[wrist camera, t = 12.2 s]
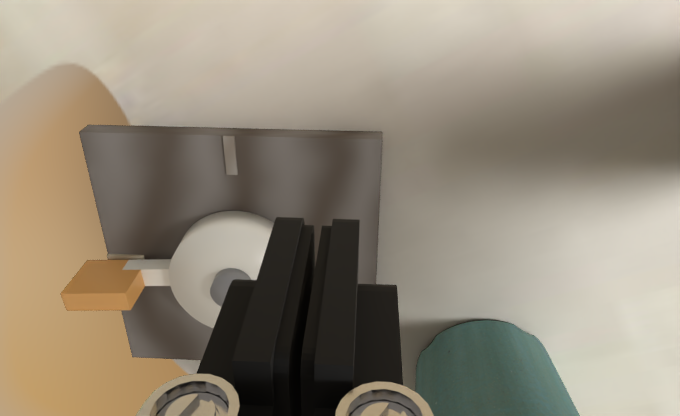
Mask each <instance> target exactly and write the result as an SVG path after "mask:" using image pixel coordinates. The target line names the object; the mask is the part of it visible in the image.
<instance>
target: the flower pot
mask: <svg viewBox="0 0 680 416" xmlns="http://www.w3.org/2000/svg"><path fill="white" fill-rule="evenodd" d="M415 392H416V393H418V394H419V395H420V396H421V397H422V398H423V399H424V400H425V401H426V402H427V403H428V405H429V407H430V409H431V411H432V413H433V415H434V416H580V415H579V413H578V411H577V409H576V407H575V406H574V404H573V402H572V400H571V398H570V396H569V394H568V392H567V390H566V388H565V386H564V384H563V382H562V380H561V378H560V376H559V374H558V372H557V370H556V368H555V367H554V365H553V363H552V361H551V359H550V357H549V355H548V353H547V351H546V349H545V348H544V346H543V345H542V343H541V342H540V341H539V340H538V339H537V338H536V337H535V336H534V335H530V334H528V333H526V332H524V331H523V330H521V329H519V328H518V327H516V326H515V325H514V324H510V323H506V322H501V321H492V320H483V321H472V322H467V323H463V324H459V325H456V326H453V327H451V328H449V329H447V330H445V331H443V332H441V333H440V334H438V335H437V336H436V337H435V339H434V340H433V342H432V343H431V344H430V345H429V346H428V347H427V348H426V349H425V350H423V351H422V352H421V354H420V356H419V359H418V362H417V366H416V385H415Z"/></svg>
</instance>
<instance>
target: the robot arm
mask: <svg viewBox="0 0 680 416" xmlns="http://www.w3.org/2000/svg"><path fill="white" fill-rule="evenodd" d="M359 230H360V220H358V219H333V221H332V226H323V225H322V228H321V234H320V241H319V247H318V253H317V260H316V266H315V231H314V225H305V222H304V218H295V217H276V219H275V222H274V225H273V228H272V232H271V235H270V238H269V241H268V244H267V248H266V251H265V254H264V257H263V261H262V264H261V267H260V270H259V274H258V277H257V280H242V279H234V280H233V281H232V282H231V284H230V286H229V288H228V291H227V294H226V296H225V299H224V302H223V304H222V307H221V310H220V312H219V315H218V318H217V320H216V323H215V326H214V328H213V331H212V334H211V336H210V339H209V342H208V344H207V347H206V350H205V352H204V355H203V358H202V360H201V363H200V366H199V368H198V371H197V374H190V375H185V376H180V377H178V378H176V379H173V380H171V381H169V382H166V383H165V384H164V385H162V386H161V387H159V388H158V389H157V390H155V391H154V392H153V393H152V394H151V395H150V396H149V398H148V399H147V400H146V401H145V402H144V404H143V405H142V407H141V408H140V410H139V411H138V413H137V414H136V416H434V415H433V413H432V411H431V409H430V407H429V405H428V403H427V402H426V401H425V400H424V399H423V398H422V397H421V396H420V395H419V394H418V393H416V392H414V391H413V390H411V389H409V388H408V387H406V386H403V379H402V362H401V346H400V329H399V313H398V296H397V286H396V285H379V284H358V268H359Z"/></svg>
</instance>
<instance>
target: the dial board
mask: <svg viewBox="0 0 680 416" xmlns="http://www.w3.org/2000/svg"><path fill="white" fill-rule="evenodd" d="M79 134H80V138H81V142H82V147H83V151H84V155H85V159H86V163H87V168H88V172H89V176H90V180H91V185H92V189H93V193H94V197H95V201H96V206H97V210H98V214H99V218H100V222H101V227H102V231H103V235H104V239H105V243H106V247H107V252H108V254H107V258H108V260H150V259H172V257H173V255H174V253H175V251H176V250H177V248H178V246H179V244H180V242H181V241H182V239H183V237H184V235H185V234H186V232H187V231H188V230H189V228H190V227H191V226H192V225H193V224H195V223H196V222H197V221H199V220H200V219H202V218H204V217H206V216H208V215H211V214H214V213H218V212H223V211H243V212H249V213H253V214H256V215H259V216H262V217H264V218H266V219H268V220H270V221H272V222H275V219H276V217H295V218H304V222H305V225H314V231H315V266H316V260H317V253H318V247H319V241H320V234H321V228H322V225H323V226H332V221H333V219H358V220H360V230H359V268H358V284H376V269H377V247H378V225H379V203H380V181H381V159H382V132H363V131H322V130H281V129H240V128H199V127H158V126H116V125H87V126H86V127H85V128H84V129H83V130H81V131H80V132H79ZM121 311H122V315H123V319H124V323H125V327H126V332H127V336H128V340H129V344H130V349H131V353H132V357H141V358H164V359H165V358H166V359H187V360H202V358H203V355H204V352H205V350H206V347H207V344H208V342H209V339H210V336H211V334H212V331H213V328H211V327H209V326H206V325H204V324H202V323H201V322H199V321H197V320H196V319H195V318H193V317H192V316H191V315H189V314H188V313H187V312H186V311H185V310H184V309H183V308H182V306H181V305H180V304H179V303H178V301H177V300H176V298H175V296H174V294H173V292H172V289H171V286H145V287H144V289H143V290H142V292H141V294H140V295H139V297H138V299H137V300H136V302H135V304H134V305H133V307H132V309H131V310H121Z"/></svg>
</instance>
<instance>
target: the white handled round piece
mask: <svg viewBox="0 0 680 416" xmlns="http://www.w3.org/2000/svg"><path fill="white" fill-rule="evenodd" d="M273 225H274V222H272V221H270V220H268V219H266V218H264V217H262V216H259V215H256V214H253V213H249V212H243V211H223V212H218V213H214V214H211V215H208V216H206V217H204V218H202V219H200V220H199V221H197V222H196V223H195V224H193V225H192V226H191V227H190V228H189V230H188V231H187V232H186V234H185V235H184V237H183V239H182V241H181V242H180V244H179V246H178V248H177V250H176V251H175V253H174V255H173V257H172V259H150V260H87V261H86V262H85V264H84V265H83V266H82V268H81V269H80V270H79V271H78V272H77V274H76V275H75V276H74V277H73V279H72V280H71V281H70V282H69V284H68V285H67V286H66V287H65V289H64V290H63V291H62V292H61V297H62V299H63V302H64V305H65V307H66V310H67V311H78V310H84V311H87V310H88V311H89V310H131V309H132V307H133V305H134V304H135V302H136V300H137V299H138V297H139V295H140V294H141V292H142V290H143V289H144V287H145V286H171V289H172V292H173V294H174V296H175V298H176V300H177V301H178V303H179V304H180V305H181V306H182V308H183V309H184V310H185V311H186V312H187V313H188V314H189V315H191V316H192V317H193V318H195V319H196V320H197V321H199V322H201V323H202V324H204V325H206V326H209V327H211V328H214V326H215V323H216V320H217V318H218V315H219V312H220V310H221V307H222V304H223V302H224V299H225V296H226V294H227V291H228V288H229V286H230V284H231V282H232V281H233V280H234V279H242V280H257V277H258V274H259V270H260V267H261V264H262V261H263V257H264V254H265V251H266V248H267V244H268V241H269V238H270V235H271V232H272V228H273Z"/></svg>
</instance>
